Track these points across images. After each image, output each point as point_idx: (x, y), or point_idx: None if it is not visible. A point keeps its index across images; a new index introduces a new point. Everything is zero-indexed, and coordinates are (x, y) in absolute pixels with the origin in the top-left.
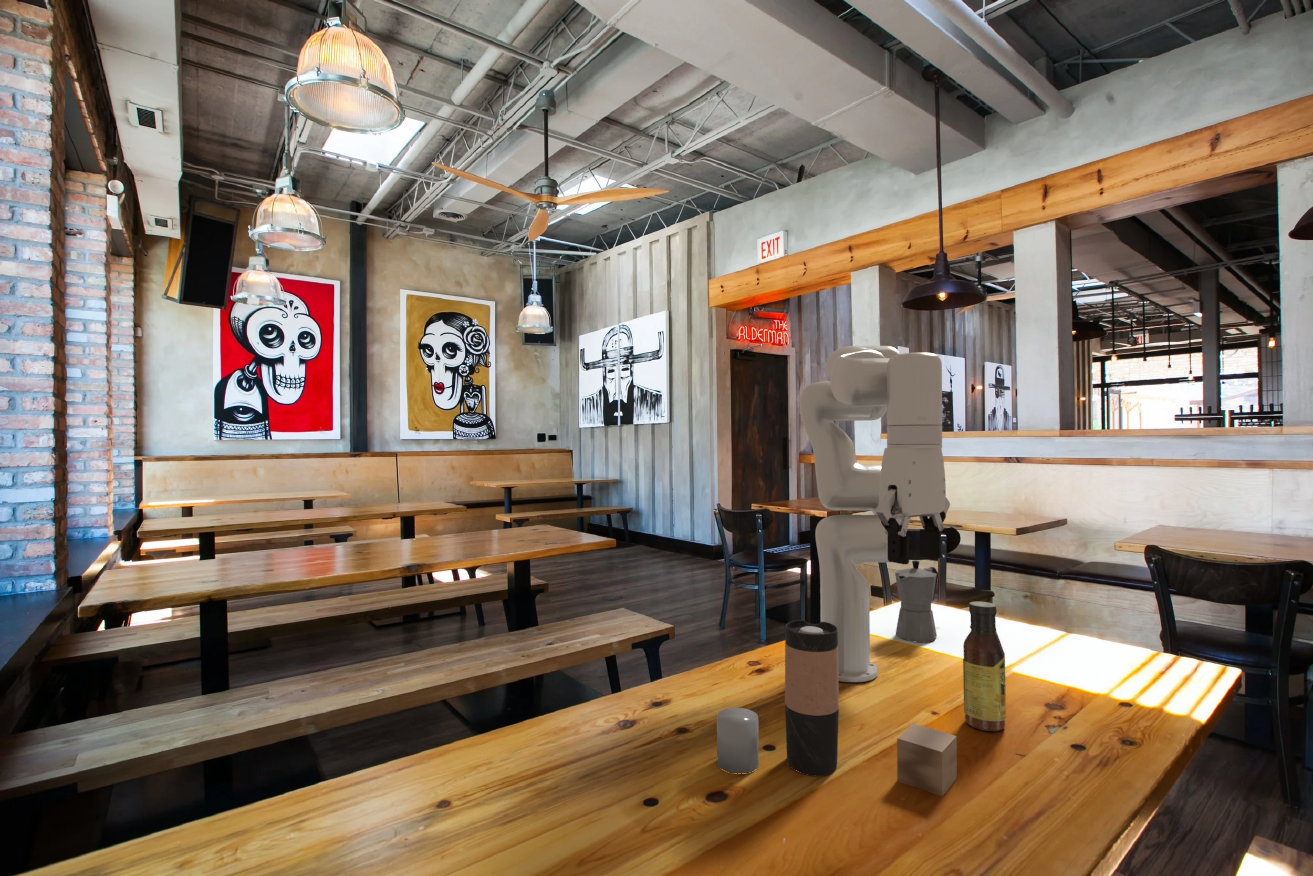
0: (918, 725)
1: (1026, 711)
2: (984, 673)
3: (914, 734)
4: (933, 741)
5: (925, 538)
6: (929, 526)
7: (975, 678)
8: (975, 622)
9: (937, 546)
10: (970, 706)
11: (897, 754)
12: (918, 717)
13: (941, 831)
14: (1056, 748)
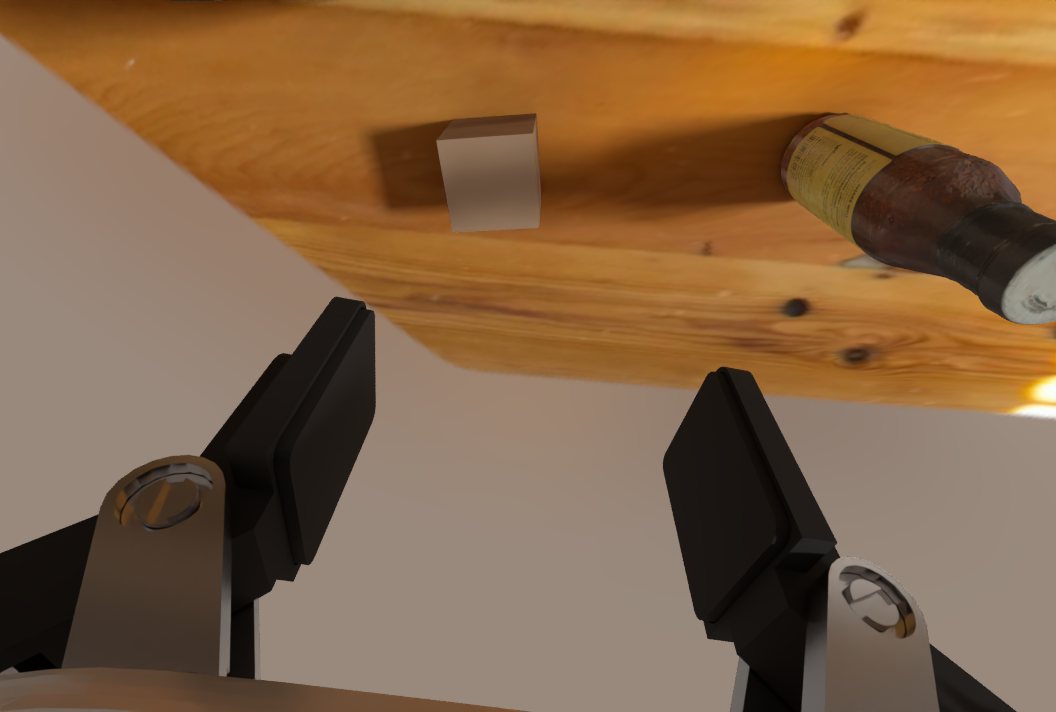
0: (532, 147)
1: None
2: (839, 217)
3: (481, 161)
4: (481, 203)
5: (728, 506)
6: (764, 637)
7: (836, 188)
8: (972, 241)
9: (677, 524)
10: (808, 151)
11: (442, 132)
12: (796, 2)
13: (376, 237)
14: (770, 285)
